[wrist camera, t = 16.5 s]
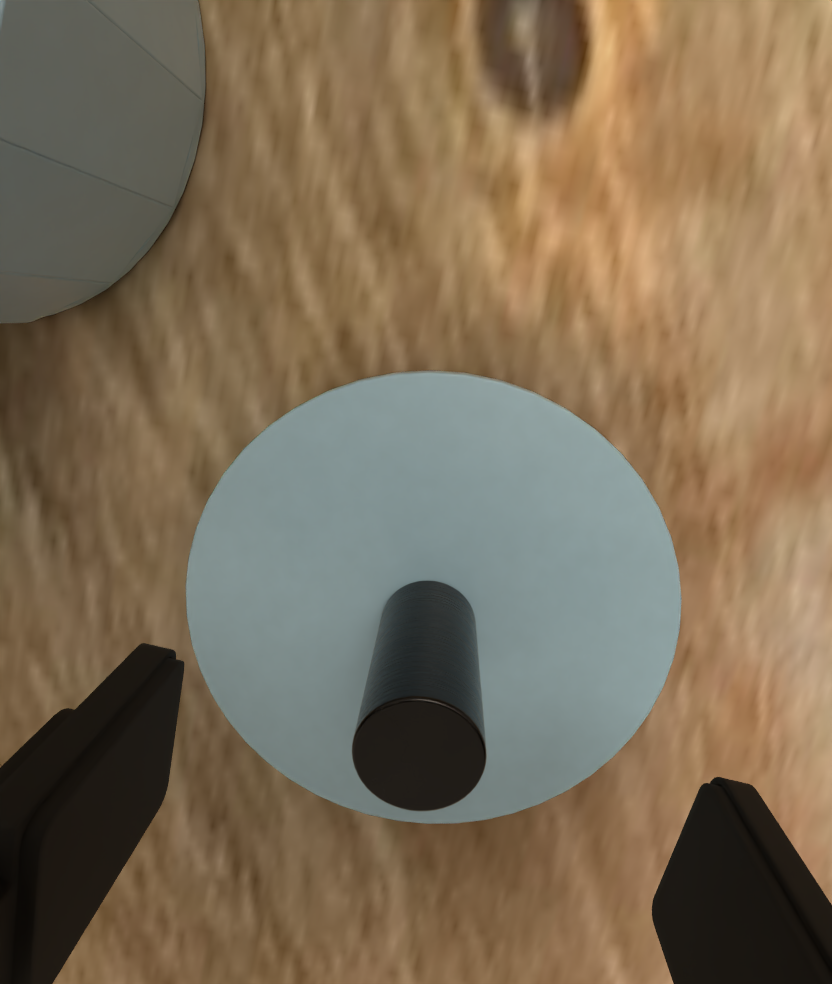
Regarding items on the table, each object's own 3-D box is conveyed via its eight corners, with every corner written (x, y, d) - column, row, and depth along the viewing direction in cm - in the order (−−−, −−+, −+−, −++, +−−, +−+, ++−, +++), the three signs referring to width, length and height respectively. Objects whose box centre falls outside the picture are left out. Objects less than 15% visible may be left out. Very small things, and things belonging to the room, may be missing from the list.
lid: (289, 284, 15) (182, 262, 9) (759, 488, 15) (951, 592, 10) (148, 702, 18) (3, 886, 12) (538, 852, 19) (579, 1094, 13)
